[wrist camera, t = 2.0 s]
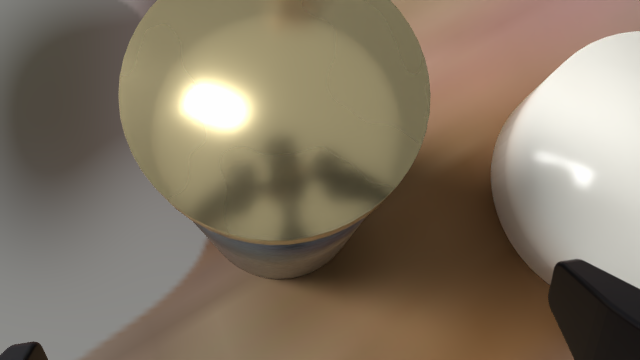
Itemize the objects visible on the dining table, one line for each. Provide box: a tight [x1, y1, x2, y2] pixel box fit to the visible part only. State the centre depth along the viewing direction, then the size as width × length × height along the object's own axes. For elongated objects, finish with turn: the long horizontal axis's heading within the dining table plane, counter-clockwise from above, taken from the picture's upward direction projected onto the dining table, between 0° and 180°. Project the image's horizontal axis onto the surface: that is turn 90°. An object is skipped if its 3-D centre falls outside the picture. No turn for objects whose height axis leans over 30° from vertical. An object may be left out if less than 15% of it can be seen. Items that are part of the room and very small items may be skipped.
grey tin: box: [118, 0, 430, 279], centre depth 16 cm, size 6×6×11 cm
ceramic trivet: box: [491, 31, 640, 289], centre depth 21 cm, size 10×10×4 cm
